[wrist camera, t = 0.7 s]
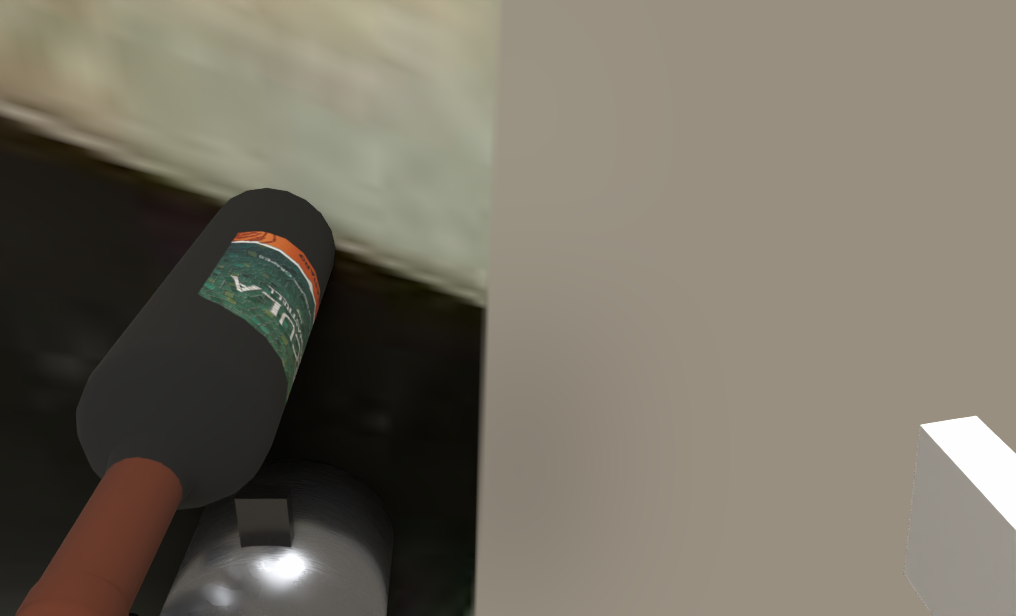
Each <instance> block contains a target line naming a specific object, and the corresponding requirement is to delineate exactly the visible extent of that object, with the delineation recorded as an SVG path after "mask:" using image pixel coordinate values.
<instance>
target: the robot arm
mask: <svg viewBox="0 0 1016 616" xmlns="http://www.w3.org/2000/svg"><path fill="white" fill-rule="evenodd" d="M904 575H905V577H906V578H907V580H908V581H909V583H910V584H911V586H912V587H913V589H914V590H915V591H916V593H917V594H918V596H919V597H920V599H921V600H922V602H923V603H924V605H925V606H926V607H927V609H928V610H929V612H930V613H931V615H932V616H1016V454H1015V453H1014V452H1013V451H1012V450H1011V449H1010V448H1009V447H1008V446H1007V445H1006V444H1005V443H1004V442H1003V441H1002V440H1001V439H999V437H997V436H996V435H995V434H994V433H993V432H992V431H991V430H990V429H989V428H988V427H987V426H986V425H985V424H984V423H983V422H982V421H981V420H980V419H979V418H978V417H977V416H973V417H966V418H960V419H954V420H947V421H941V422H935V423H929V424H922V425H920V430H919V439H918V448H917V458H916V466H915V475H914V485H913V495H912V503H911V512H910V521H909V531H908V540H907V549H906V558H905V567H904Z"/></svg>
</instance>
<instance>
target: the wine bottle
mask: <svg viewBox="0 0 1016 616" xmlns="http://www.w3.org/2000/svg"><path fill="white" fill-rule="evenodd" d="M334 256H335V244H334V240H333V236H332V231H331V229H330V227H329V226H328V224H327V222H326V221H325V219H324V218H323V216H322V214H321V213H320V212H319V211H318V210H316V209H315V208H314V207H313V206H312V205H311V204H310V203H309V202H307V201H306V200H305V199H302V198H300V197H298V196H296V195H294V194H292V193H290V192H288V191H282V190H276V189H270V188H263V189H256V190H249V191H246V192H244V193H242V194H239V195H237V196H235V197H233V198H231V199H230V200H229V201H228V202H227V203H226V204H225V205H224V206H223V207H222V208H221V209H220V210H219V211H218V212H217V214H216V215H215V216H214V217H213V219H212V220H211V221H210V223H209V224H208V225H207V226H206V228H205V229H204V230H203V231H202V233H201V234H200V235H199V237H198V238H197V239H196V240H195V242H194V243H193V244H192V246H191V247H190V248H189V249H188V251H187V252H186V253H185V255H184V256H183V257H182V258H181V260H180V261H179V262H178V263H177V265H176V266H175V267H174V269H173V270H172V271H171V272H170V274H169V275H168V276H167V278H166V279H165V280H164V281H163V283H162V284H161V285H160V287H159V288H158V289H157V290H156V292H155V293H154V294H153V295H152V297H151V298H150V299H149V301H148V302H147V303H146V304H145V306H144V307H143V308H142V310H141V311H140V312H139V313H138V315H137V316H136V317H135V318H134V320H133V321H132V322H131V324H130V325H129V326H128V327H127V329H126V330H125V331H124V333H123V334H122V335H121V336H120V338H119V339H118V340H117V342H116V343H115V344H114V345H113V347H112V348H111V349H110V350H109V352H108V353H107V354H106V356H105V357H104V358H103V359H102V361H101V362H100V363H99V365H98V366H97V367H96V368H95V370H94V371H93V372H92V374H91V375H90V377H89V379H88V381H87V384H86V386H85V389H84V391H83V394H82V396H81V399H80V402H79V404H78V407H77V409H76V418H77V435H78V437H79V440H80V442H81V445H82V447H83V450H84V452H85V454H86V456H87V459H88V461H89V463H90V465H91V468H92V469H93V470H94V471H95V473H96V474H97V475H98V476H99V477H100V478H101V479H102V480H101V481H100V483H99V485H98V486H97V488H96V489H95V491H94V493H93V494H92V496H91V497H90V499H89V501H88V502H87V504H86V506H85V507H84V509H83V510H82V512H81V514H80V515H79V517H78V518H77V520H76V522H75V523H74V525H73V527H72V528H71V530H70V531H69V533H68V535H67V536H66V538H65V539H64V541H63V543H62V544H61V546H60V548H59V549H58V551H57V552H56V554H55V556H54V557H53V559H52V560H51V562H50V564H49V565H48V567H47V569H46V570H45V572H44V573H43V575H42V577H41V578H40V580H39V581H38V582H37V583H36V584H35V585H34V586H33V587H32V588H31V590H30V591H29V593H28V594H27V596H26V598H25V599H24V601H23V602H22V604H21V606H20V607H19V609H18V610H17V612H16V614H15V616H129V611H130V608H131V606H132V604H133V602H134V600H135V598H136V595H137V593H138V591H139V589H140V587H141V585H142V583H143V580H144V578H145V576H146V574H147V572H148V570H149V567H150V565H151V563H152V561H153V559H154V557H155V555H156V552H157V550H158V548H159V546H160V544H161V542H162V539H163V537H164V535H165V533H166V531H167V529H168V527H169V524H170V522H171V520H172V518H173V516H174V514H175V512H176V510H182V509H189V508H197V507H202V506H205V505H207V504H210V503H213V502H216V501H218V500H220V499H223V498H225V497H227V496H229V495H232V494H234V493H236V492H238V491H239V490H240V489H241V488H242V487H243V486H244V485H245V484H247V483H248V482H249V481H250V480H251V479H252V478H253V477H254V476H255V475H256V473H257V472H258V470H259V469H260V467H261V465H262V463H263V462H264V460H265V458H266V456H267V454H268V452H269V450H270V448H271V446H272V443H273V440H274V437H275V434H276V432H277V429H278V426H279V423H280V420H281V417H282V414H283V411H284V408H285V405H286V402H287V400H288V397H289V394H290V391H291V388H292V385H293V382H294V379H295V376H296V373H297V370H298V367H299V365H300V362H301V359H302V356H303V353H304V350H305V347H306V344H307V341H308V338H309V335H310V332H311V330H312V327H313V324H314V321H315V318H316V315H317V312H318V309H319V306H320V303H321V300H322V297H323V295H324V292H325V289H326V286H327V283H328V280H329V277H330V274H331V271H332V268H333V265H334Z"/></svg>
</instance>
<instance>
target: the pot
mask: <svg viewBox="0 0 1016 616" xmlns="http://www.w3.org/2000/svg"><path fill="white" fill-rule="evenodd" d="M393 541H394V531H393V524H392V521H391V517H390V515H389V512H388V510H387V508H386V506H385V505H384V503H383V502H382V500H381V499H380V497H379V496H378V495H377V494H376V493H375V492H374V491H373V489H371V488H370V487H369V486H368V485H367V484H366V483H364V482H363V481H362V480H360V479H359V478H357V477H356V476H354V475H352V474H350V473H349V472H347V471H345V470H343V469H340V468H338V467H335V466H332V465H329V464H325V463H322V462H318V461H312V460H305V459H278V460H272V461H266V462H263V463H262V465H261V467H260V469H259V470H258V472H257V473H256V475H255V476H254V477H253V478H252V479H251V480H250V481H249V482H248V483H247V484H245V485H244V486H243V487H242V488H241V489H240V490H239V491H238V492H236V493H234V494H232V495H229V496H227V497H225V498H223V499H220V500H218V501H216V502H213V503H210V504H207V505H206V506H205V508H204V511H203V513H202V515H201V518H200V520H199V523H198V525H197V527H196V530H195V532H194V535H193V537H192V539H191V542H190V544H189V546H188V549H187V551H186V554H185V556H184V558H183V561H182V563H181V566H180V568H179V570H178V573H177V575H176V578H175V580H174V582H173V585H172V587H171V590H170V592H169V594H168V597H167V599H166V601H165V604H164V606H163V609H162V611H161V613H160V616H386V613H387V603H388V593H389V583H390V573H391V563H392V552H393Z"/></svg>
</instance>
